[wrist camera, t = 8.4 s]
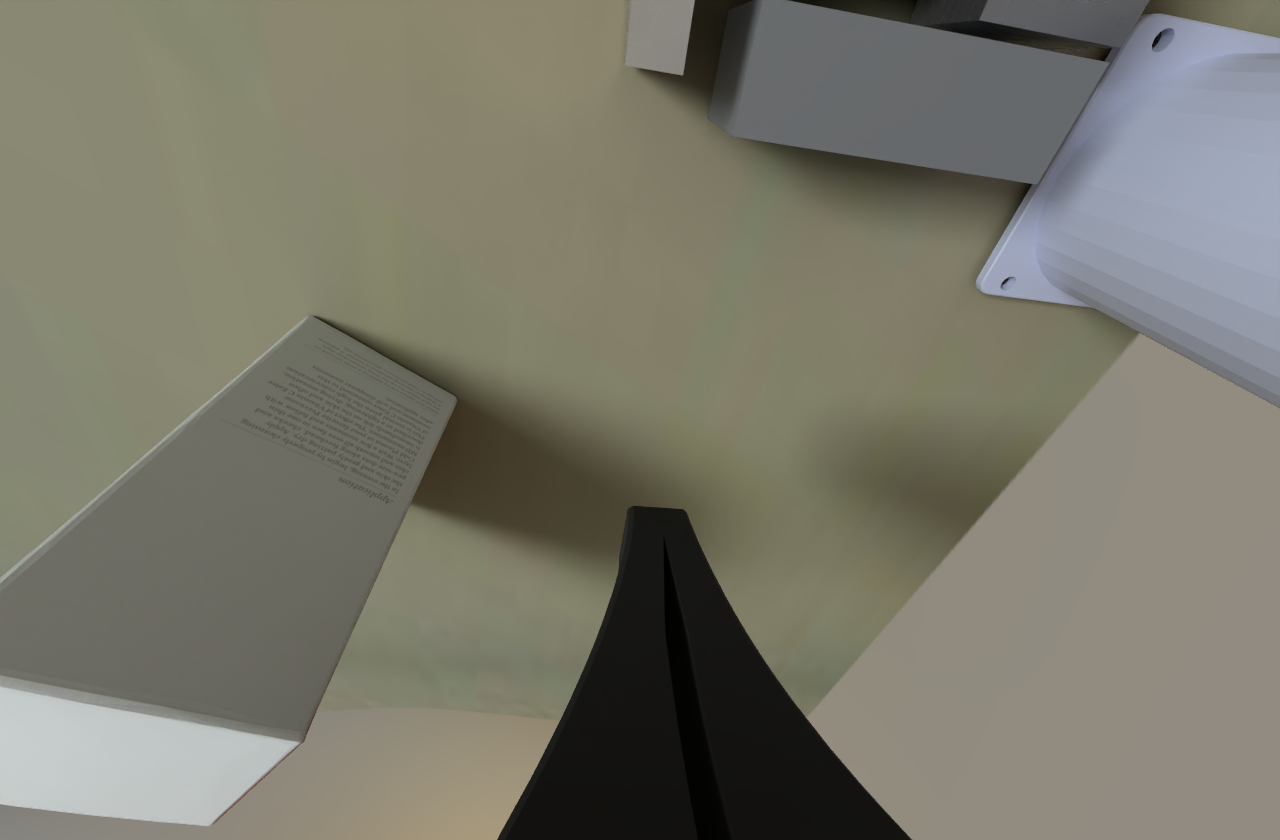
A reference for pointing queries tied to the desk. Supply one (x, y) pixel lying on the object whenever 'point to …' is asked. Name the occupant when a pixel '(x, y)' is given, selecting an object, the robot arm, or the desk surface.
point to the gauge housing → (895, 90)
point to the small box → (211, 588)
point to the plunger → (961, 3)
